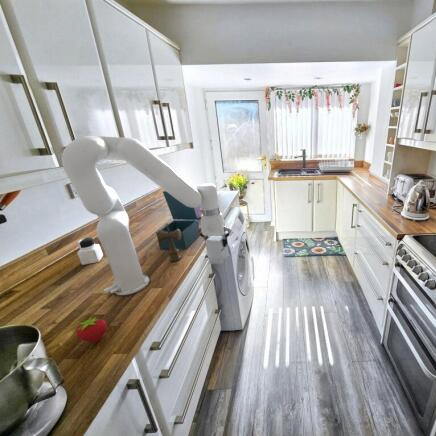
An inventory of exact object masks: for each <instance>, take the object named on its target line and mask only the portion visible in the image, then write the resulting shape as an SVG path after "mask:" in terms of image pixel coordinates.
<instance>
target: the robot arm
mask: <svg viewBox="0 0 436 436" xmlns="http://www.w3.org/2000/svg"><path fill="white" fill-rule="evenodd" d="M102 160H112V161H125V162H126V163H127V164H129V165H130V166H132V168H134V169H136V170H137V171H139V172H140V173H141V174H142V175H144V176H145V177H146V178H148V179H149V180H150V181H152V182H153V183H154V184H156V185H157V186H158V187H160V188H161V189H163V191H166V192H168V193H169V194H170V195H172V196H173V197H174V198H176V199H177V200H178V201H180V202H181V203H182V204H184V205H185V206H187V207H191V208H194V207H197V206H199V205H200V203H201V206H202V209H200V212H202V215H201V217H200V227H199V229H198V230H197V232H198V233H199V234H200V236H199V237H202V239H203V240H204V241H205V240H207V239H208V238H209V237H210V236H222V237H223V246H224V247H226V245H227V246H228V243H229V242H228V237H230V235H231V233H232V232H233V229H232V228H231V227H228V226H226V223H225V219H224V215H223V213H222V212H221V209H220V203H219V196H218V188H217V186H216V185H215V184H214V183H203V184H200V185H199V184H198V185H195V184H194V185H191V184H189V183H188V182H186V181H185V180H184V179H183V178H182V177H181V176H179V174H177V172H175V171H174V169H173V168H172V167H171V166H169V164H167V162H165V161H164V160H162V158H160V157H158V155H156V154H155V153H154V152H152V151H151V150H150V149H149V148H148V147H147V146H145V145H143V143H142V142H141V141H140V140H138V139H136V138H134V137H121V136H120V137H117V136H103V135H82V136H79V137H77V138H75V139H73V140H72V141H70V142H69V143H68V144H67V146H65V148H64V149H63V152H62V156H61V164H62V168H63V170H64V172H65V174H66V176H67V177H68V179H69V181H70V183H71V185H72V187H73V189H74V190H75V192H76V194H77V195H78V197H79V199H80V201H81V203H82V205H83V207H84V208H85V210H86V211H88V212H89V213H90V214H92V215H95V216H96V217H97V218H98V223H97V225H96V235H97V236H96V237H97V238H98V240H99V242H100V244H101V246H102V249H103V251H104V253H105V256H106V259H107V261H108V264H109V266H110V269H111V272H112V275H113V278H114V280H112V283H113V284H111V285H110V286H108V287H106V288H104V289H102V292H103V293H104V295H108V294H109V293H110V294H114V293H115V295H118V296H129V295H133V294H136V293H138V292H140V291H142V290H143V289H145V288H146V287H147V286H148V285H149V283H150V278H149V276H148V275H145V274H144V273H143V269H142V267H141V263H140V260H139V256H138V253H137V250H136V247H135V244H134V241H133V238H132V236H131V232H130V230H129V226H130V218H129V215H128V213H127V210H126V209H125V206H124V205H123V203H122V201H121V199H120V197H119V195H118V193H117V192H116V190H114V188H113V187H111V186H109V185H106V183H105V181H104V179H103V176H102V175H101V173H100V171H99V170H98V168H97V163H98V162H100V161H102ZM226 232H227V233H226ZM204 244H205V245H206V243H205V242H204Z"/></svg>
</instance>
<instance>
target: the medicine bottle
mask: <svg viewBox="0 0 436 436" xmlns="http://www.w3.org/2000/svg"><path fill="white" fill-rule="evenodd" d="M77 245H78V247H79V250H78V251H77V252H76V254H77V257H78V259H79V261H80V264H81V265H82V266H85V265H90V264H95V263H99V262H100V261H101V259H102V258H103V257H104V254H103V250H102V248H101V245H100V243H96V242H95V240H94V238H93V237H84V238H81V239H79V240H78V241H77Z"/></svg>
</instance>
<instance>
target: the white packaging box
mask: <svg viewBox="0 0 436 436" xmlns="http://www.w3.org/2000/svg"><path fill="white" fill-rule="evenodd" d="M208 237H209V238H208V239H207V240H205V239H204V244H205V243H206V244H205V247H206V249H205V250H206V253H207V254H206V255H207V259H208V264H209V265H220V266H221V265H224V264H225V262H226V261H227V260H228V259H229V258H230V255H229V247H228V244H227V245H226V247H224V246H223V237H222V236H208Z"/></svg>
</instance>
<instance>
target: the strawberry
mask: <svg viewBox="0 0 436 436" xmlns="http://www.w3.org/2000/svg"><path fill="white" fill-rule="evenodd" d="M78 324H79V327H77V329H76V330H75V331H76V332H75V333H76V337H77V338H78V339H80V340H81V341H83V342H88V343H94V344H96V343H99V342H101V340H102V338H103V337H104V336H105V334H106V332H107V330H108V323H107V322H106V320H104V319H100V318H98V317H97V316H96V317H93V318H92V317H91V316H90V317H89V318H88V319H84V321H83V322H80V323H78Z"/></svg>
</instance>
